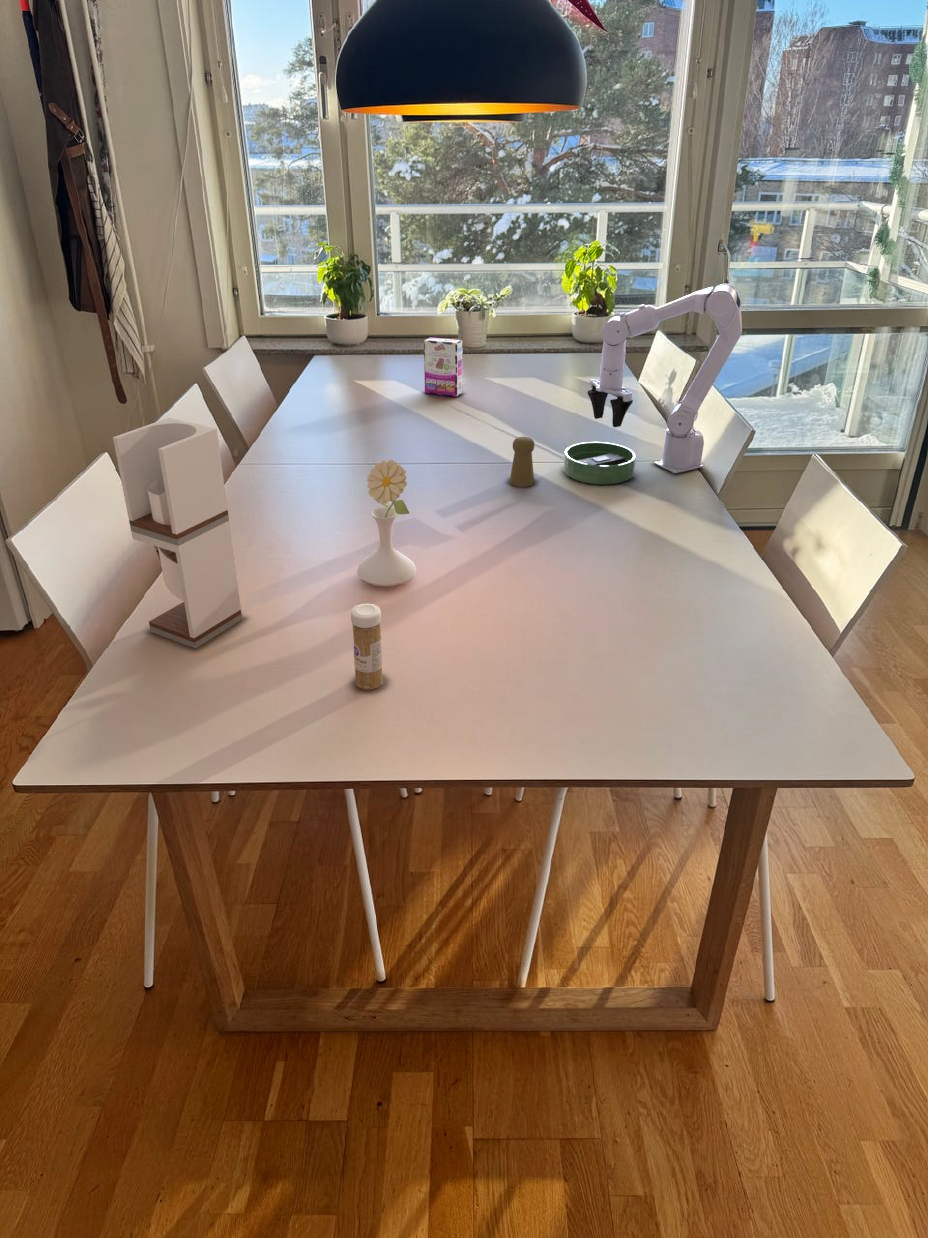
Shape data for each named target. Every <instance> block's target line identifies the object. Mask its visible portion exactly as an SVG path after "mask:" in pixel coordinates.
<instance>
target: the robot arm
mask: <svg viewBox="0 0 928 1238" xmlns="http://www.w3.org/2000/svg"><path fill="white" fill-rule="evenodd" d="M690 312H695V313H697V314H701V315H705V313H707V315H708V316H709V317H710V318H711V320H712V321H713V322H714V323H715V326H716V329H717V332H718V336H717V337H716V340H715V341H714V343H713V345H712V347H711V348H710V350H709V352H708V354H707V356H706V357H705V359H704V361H703V363H702V364H701V366H700V368H699V370H698V371H697V373H696V375H695V377H694V379H693V381H692V382H691V384H690V386H689V388H688V390H687V391H686V393H685V394H684V396H683V398H682V399H681V400H680V401H679V402H677V403H676V404H675V405H674V406H673V408H672V411H671V414H670V415H669V416H668V417H667V420H666V427H667V428H666V430H665V436H664V444H663V451H662V458H661V460H658V461H655V462H654V465H655V466H658V467H660V468H662V469H664V470H666V471H668V472H670V473H672V474H679V473H683V472H689V471H692V470H693V471H694V470H697V469H701V468H703V467H704V465H703V464H702V461H703V460H702V459H703V452H704V447H705V440H704V439H705V438H704V435H703V433H702V432H701V431H700V430H698V429H696V428H695V426H694V425H695V422H696V420H697V418H698V417H699V409H700V408H701V406H702V404H703V402H704V401H705V399H706V397H707V395H708V393H709V392H710V390H711V388H712V387H713V385H714V383H715V381H716V380H717V378H718V376H719V375H720V373H721V371H722V369H723V367H724V366H725V364H726V362H727V360H728V359H729V357H730V355H731V353H732V352H733V350H734V348H735V347H736V345H737V344H738V341H739V339H740V338H741V335H742V334H743V321H742V319H743V318H742V300H741V298H740V295H739V293H738V291H737V289H736V287H734V286H733V285H732V284H729V283H721V284H718V285H717V286H715V287H714V286H711V287H706V288H703V289H700V290H696V291H694V292H692V293H690V294H687V295H684V296H682V297H679V298H677V299H675V300H672V301H670V302H668V303H665V304H663V305H661V306H658V307H657V306H654V305H651V304H648V305H646V304H644V303H643V304H640V305H638V307H637V309H634V310H632V311H629V312H627V313H625V312H621V313H619V315H617V316H613V317H611V318H610V319H608V320H607V322H606V323H605V324H604V325H603V327H602V329H601V336H602V339H603V341H602V349H601V359H600V371H599V372H600V373H599V378H592V379H589V388H591V389H589V390H587V395H588V397H589V399H590V403H591V407H592V412H593V418H594V419H595V420H598V419H602V418H603V417H604V412H605V405H606V401H607V398H608V396H609V395H610V396H613V397H616V398H612V399H609V402H610V405H611V410H612V412H611V413H612V421H611V422H612V423H611V424H612V427H613V428H619V427H622V424H623V421H624V419H625V416H626V413H627V411H628V410H629V409H630V406H631V405H633V403H634V402H633V401H634V400H633V392H631V391H629V390H628V389H627V388H626V387H624V386H623V384H624V374H625V364H626V363H625V362H626V353H627V349H626V348H627V347H626V346H627V338H631V339H632V338H634V337H637V336H640V335H643V334H645V333H648V332H651V331H655V330H657V328H658V327H659V324H660V322H663V321H665V320H669V319H672V318H674V317H678V316H681V315H684V314H687V313H690Z"/></svg>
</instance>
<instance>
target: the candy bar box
mask: <svg viewBox="0 0 928 1238" xmlns="http://www.w3.org/2000/svg"><path fill="white" fill-rule="evenodd" d="M463 343H464V342H463V339H455V338H454V339H453V338H441V337H433V336H432V337H428V338H426V339H424V340H423V359H424V360H423V362H424V363H423V364H424V365H423V366H424V369H423V370H424V393H425V394H429V395H430V394H431V395H438V396H443V397H444V396H446V397H454V398H457V397H459V396H460V395H462V394H463V391H464V390H463V388H464V387H463V382H464V381H463V378H464V377H463V374H464V373H463V366H464V365H463V364H464V363H463V362H464V361H463V360H464V359H463V356H464V355H463V352H464V351H463V349H464V348H463V346H464V345H463Z"/></svg>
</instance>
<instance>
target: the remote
mask: <svg viewBox="0 0 928 1238" xmlns="http://www.w3.org/2000/svg"><path fill="white" fill-rule="evenodd" d="M577 461H578V462H582V463H586V464H591V465H602V466H607V465H618V464H623V463H624V462H625V458H623V457H621V456H619V455H617V454H615V453H611V454H606V455H601V456H596V457H591V458H587V459H582V460H577Z"/></svg>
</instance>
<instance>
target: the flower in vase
mask: <svg viewBox="0 0 928 1238" xmlns="http://www.w3.org/2000/svg"><path fill="white" fill-rule="evenodd" d="M406 473H407V471H406V470H405V469H404V467H403V466H401V464H398V463H397V461H394V460H393V459H390V460H387V461H386V460H382V461H381V462H376V463H375V465H374V467H372V468H371V469H370V473H369V474H368V475H367V479H366V482H367V483H368V484H367V489H368V494H369V497H371V498H372V499H373V500H374V501H376V502H377V503H378V504H380V505H382V506H384V507H377V508H375V509H373V510H372V511H371V512H370V515H371V516H372V517H373V519H374V521H375V522H376V524H377V529H378V535H379V544H378V548H377V549H376V550H375V551H373V552H372V553H371V554H370V555H368V556H367V557H365V558H364V559H363V560H362V561H361V562H360V563H359V565H358V567H357V570H356V573H357V576H358V577H359V579H360V580H361V581H362V582H364V583H366V584H368V585H371V586H375V587H382V588H383V587H387V588H388V587H396V586H401V585H403V584H406V583H408V582H410V581H412V580H413V578H414V577H415V575H416V574H417V567H416V565H415V563H414V561H412V560H411V559H410V558H409V557H408V556H406V555H405V554H403V553H401V551H398V550H397V549H395V548H394V545H393V542H392V531H393V525H394V524H393V523H394V521H395V519H396V518H397V516H398V515H409V514H410V511H409V509H408V507H407V505H406V503H405V501H404V500H403V499H400V496H401V494H403V493H404V490H405V488H406V487H407V485H408V482H407V481H406V480H407V475H406ZM389 502H391V504H390V506H389V504H388V503H389Z"/></svg>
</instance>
